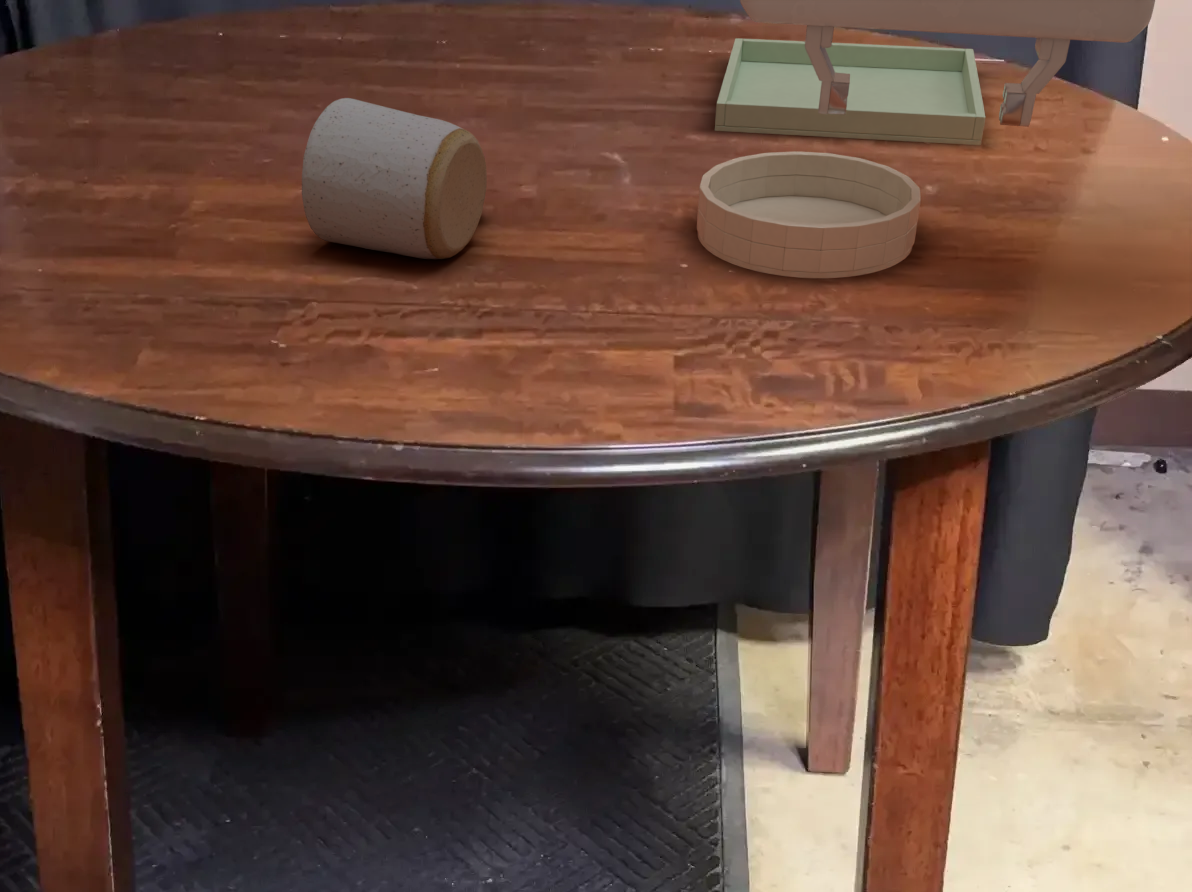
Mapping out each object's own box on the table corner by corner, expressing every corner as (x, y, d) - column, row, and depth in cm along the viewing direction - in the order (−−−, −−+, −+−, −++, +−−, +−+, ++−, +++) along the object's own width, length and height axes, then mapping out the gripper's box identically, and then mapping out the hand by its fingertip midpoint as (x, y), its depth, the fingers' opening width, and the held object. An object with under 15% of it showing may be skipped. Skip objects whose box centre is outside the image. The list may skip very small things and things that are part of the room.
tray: (968, 77, 111) (973, 48, 109) (980, 148, 98) (985, 116, 97) (733, 65, 113) (735, 37, 112) (714, 133, 100) (716, 102, 99)
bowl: (910, 208, 89) (918, 157, 87) (914, 288, 80) (923, 233, 78) (707, 196, 91) (710, 146, 89) (686, 273, 81) (690, 218, 80)
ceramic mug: (437, 283, 80) (433, 137, 76) (303, 260, 83) (291, 117, 78) (518, 220, 88) (518, 84, 84) (393, 200, 91) (387, 68, 86)
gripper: (745, -175, 71) (720, 122, 79) (1201, -159, 68) (1127, 149, 76) (753, -194, 76) (729, 88, 84) (1179, -179, 73) (1111, 111, 81)
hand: (921, 117), depth 80 cm, fingers open, 8 cm apart
